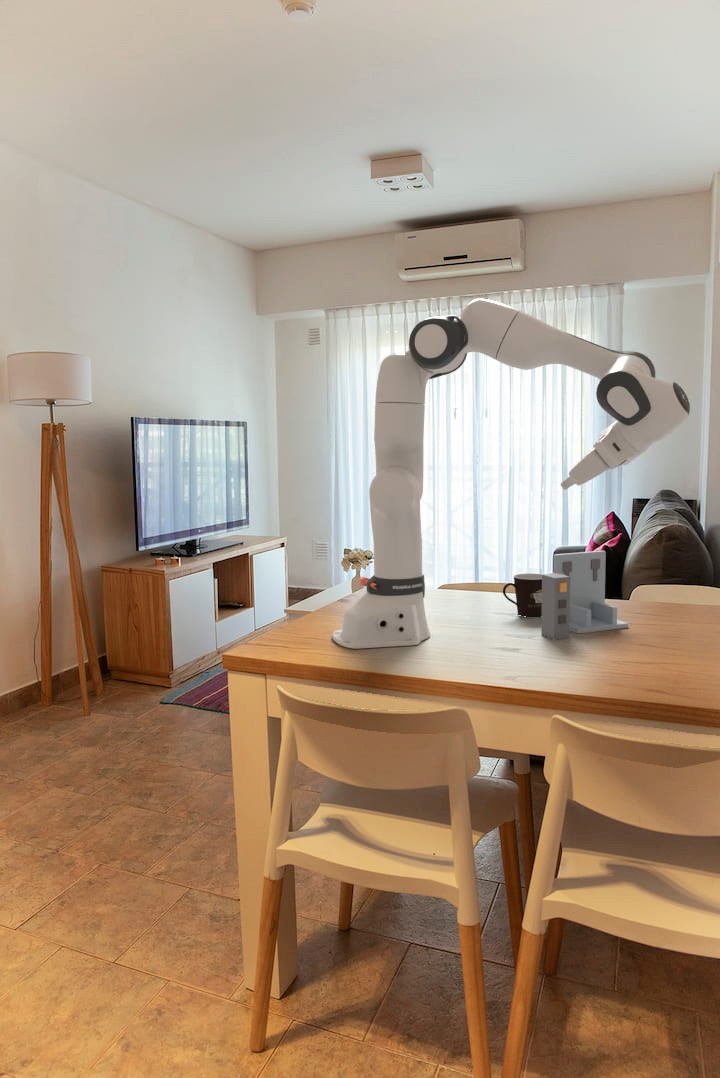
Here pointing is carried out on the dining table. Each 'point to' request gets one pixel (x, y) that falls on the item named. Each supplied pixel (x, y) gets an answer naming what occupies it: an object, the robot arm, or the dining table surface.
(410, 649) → the dining table surface
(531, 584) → the coffee mug
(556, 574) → the grey tall rectangular block
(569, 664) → the dining table surface
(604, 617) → the grey l-shaped stand
